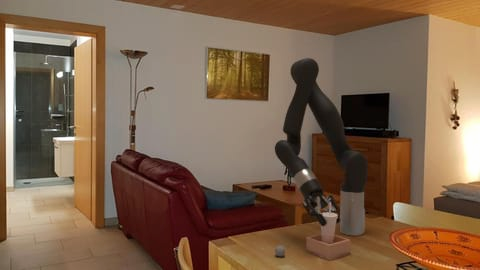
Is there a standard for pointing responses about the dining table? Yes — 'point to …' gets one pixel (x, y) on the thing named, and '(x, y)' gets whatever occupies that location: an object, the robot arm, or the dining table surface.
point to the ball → (279, 250)
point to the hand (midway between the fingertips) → (331, 223)
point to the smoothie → (328, 226)
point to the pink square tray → (328, 247)
